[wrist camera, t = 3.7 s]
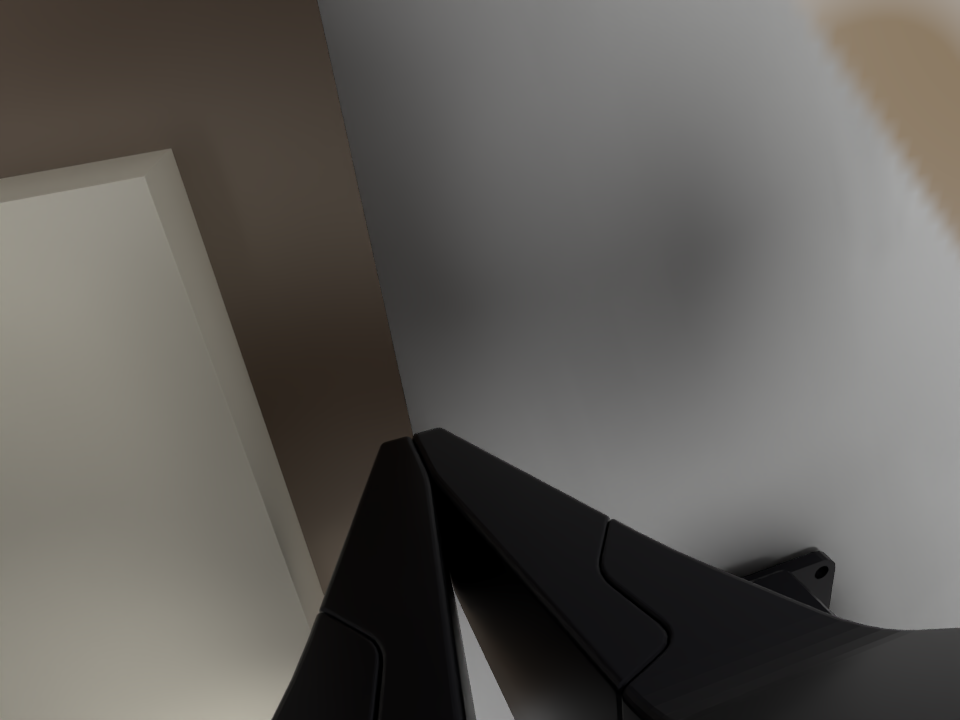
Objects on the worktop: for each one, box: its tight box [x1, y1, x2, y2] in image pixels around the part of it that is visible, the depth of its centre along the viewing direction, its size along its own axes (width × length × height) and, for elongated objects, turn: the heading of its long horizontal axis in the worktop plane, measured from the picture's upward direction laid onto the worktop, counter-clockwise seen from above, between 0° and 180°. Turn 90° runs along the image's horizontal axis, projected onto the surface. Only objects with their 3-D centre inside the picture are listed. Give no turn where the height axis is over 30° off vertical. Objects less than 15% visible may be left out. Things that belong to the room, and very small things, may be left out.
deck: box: [0, 0, 413, 595], centre depth 11 cm, size 16×12×4 cm
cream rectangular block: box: [0, 148, 324, 720], centre depth 8 cm, size 9×6×2 cm, turn 8°
